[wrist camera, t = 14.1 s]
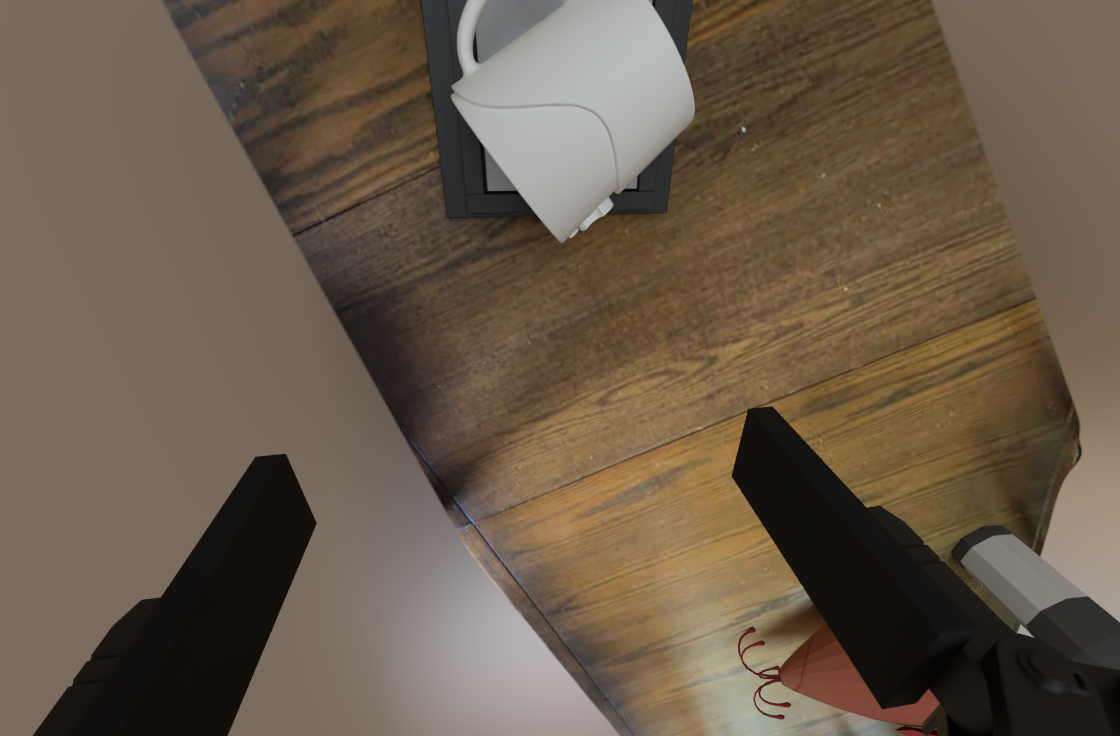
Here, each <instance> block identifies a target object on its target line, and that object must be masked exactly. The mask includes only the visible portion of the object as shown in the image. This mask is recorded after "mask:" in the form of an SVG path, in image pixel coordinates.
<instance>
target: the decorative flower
mask: <svg viewBox="0 0 1120 736" xmlns="http://www.w3.org/2000/svg"><path fill="white" fill-rule="evenodd" d="M754 632H755V628H750V629H749V630H748V631H747V632H745V633H744V634H743V635H742V637H741V638H740V640H739V643H738V652H739V655H740V658H741V660H742V663H743V665H744V666H745V667H746V669H748V670H749V671H751V672H753V673H754V674H756V675H758V676H759V677H760V678H763V679H775V680H772V681H769V682H766V683H765V684H764V685H762V686H760V687H759V688H758V690H757V691H756V692H755V695H754V703H755V706H756V708H757V709H758V711H760V712H761V713H762V714H764V715H766V716H769V717H772V718H777V719H781V720H782V719H784V718H785V717H784V715H776V716H775V715H769V714H766V713H764V712H762V711H761V710H760V709H759V708H758V707H757V705H756V702H755V696H756V693H757V692H758V691H759V697H760V698H761V699H762V700H763V701H764V702H766V703H767V704H771V705H775V706H782V707H790V706H791V704H790V703H788V702H786V703H781V704H777V703H771V702H768V701H766V700H764V699H763V698H762V697H761V695H760V691H761V689H762V688H763V687H764V686H766V685H769V684H771V683H774V682H780V681H781V682H782V685H784V686H786V687H788V688H790V689H792V690H794V691H796V692H798V693H801V694H803V695H805V696H808V697H810V698H812V699H815V700H818V701H820V702H823V703H826V704H828V705H831V706H834V707H836V708H839V709H842V710H844V711H848V712H851V713H855V714H858V715H861V716H865V717H868V718H872V719H875V720H880V721H885V722H890V723H895V724H900V725H905V726H904V727H901V728H898V729H896V731H899V732H901V733H903V734H905V735H908V736H926V735H924V734H922V733H921V729H919V728H913V727H907V726H915V727H922V725H923V722H924V721H925V720H926V719H927V718H928V717H929V716H930V714H931V713H932V712H933V711H934V710H935V709H936V708H937V707H938V706H939V704H940V703H939V702H938V700H937V699H936V698H935V696H934V695H933V694H932V692H931V691H930V690H929V689H928V690H927V692H926V693H925V694H924V695H923V696H922V697H921V699H920V700H919V701H918V702H917V703H916V704H911V705H905V706H900V707H894V708H888V709H883V710H882V709H881V707H880V705H879V704H878V702H877V701H876V699H875V698H874V696H873V695H872V693H871V691H870V690H869V688H868V687H867V685H866V684H865V682H864V681H863V679H862V678H861V676H860V674H859V673H858V671H857V670H856V668H855V667H854V665H853V664H852V662H851V660H850V659H849V657H848V656H847V654H846V653H845V651H844V650H843V648H842V647H841V645H840V643H839V642H838V640H837V639H836V637H835V636H834V634H833V633H832V631H831V629H830V628H829V626H828V625H827V624H826V625H825V626H823V627H822V628H821V629H820V630H818V631H817V632H816V633H814V634H813V635H812V636H811V637H810V638H809V639H808V640H807V641H805V642H804V643H803V644H802V645H801V646H800V647H799V648H798V649H797V650H796V651H795V652H794V653H793V654H792V655H791V656H790V657H789V658H788V659H787V660H786V661H785V662H784V664H783V665H782V666H781V668H780V667H779V666H775V667H772V668H769V669H766V670H763V671H761V672H760V673H755V672H754V671H752V670H751V669H750V668H748V667H747V665H746V664H745V663H744V661H743V658H742V657H743V653H744V652H745V651H746V650H747V649H748V648H750V647H752V646H756V645H764V644H765V642H764V641H759V642H756V643H754V644H751V645H749V646H748V647H746V648H745V649H744V650H743V652H742V655H741V654H740V643H741V640H742V638H743V637H744V636H745V635H747V634H748V633H754ZM769 670H779V671H778V674H779V675H767V674H761V673H763V672H765V671H769ZM761 676H765V677H761ZM759 689H760V690H759ZM935 729H937V727H936V728H935ZM894 730H895V729H894ZM928 736H938V734H937V730H933V731H932V732H931V733H930V734H929V735H928Z"/></svg>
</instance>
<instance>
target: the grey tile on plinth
mask: <svg viewBox="0 0 1120 736" xmlns="http://www.w3.org/2000/svg"><path fill="white" fill-rule="evenodd" d="M652 1H653V0H649V2H650V3H651V5H652ZM562 5H563V0H491V1H490V3H489V4H488V6H487V7H486V9H485V11H484V12H483V14H482V16H481V18H480V20H479V23H478V25H477V28H476V41H477V54H478V63H479V64H482V63H484V62H485V61H486V60H488V59H489V58H490V57H492V56H493V55H495V54H496V53H497V52H499V51H500V50H502V49H503V48H504V47H506V46H507V45H508V44H510V43H511V42H513V41H514V40H515V39H517V38H518V37H519V36H521V35H522V34H524V33H525V32H526V31H528V30H529V29H531V28H532V27H533V26H535V25H536V24H537V23H539V22H540V21H542V20H543V19H544V18H546V17H547V16H549V15H550V14H551V13H553V12H554V11H555V10H557V9H558V8H560V7H561V6H562ZM485 161H486V174H487V187H488V191H517V190H516V188H515V187H514V186H513V184H512V183H511V182H510V180H509V179H508V178H507V177H506V175H505V174H504V173H503V171H502V170H501V169H500V167H499V166H498V165H497V163H496V162H495V161H494V159H493V158H492V157H491V155H490V154H489V153H488V151H487V150H486V149H485ZM637 177H638V176H637ZM637 177H636V178H635V179H634V180H633V181H632V182H631V183H630V184H629V185H628V186H627V187H626V188H625V189H634V188H637Z"/></svg>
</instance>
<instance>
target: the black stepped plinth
mask: <svg viewBox="0 0 1120 736" xmlns="http://www.w3.org/2000/svg"><path fill="white" fill-rule="evenodd" d="M466 2H467V0H421V7H422V15H423V23H424V32H425V40H426V48H427V56H428V64H429V72H430V81H431V89H432V97H433V105H434V113H435V121H436V130H437V138H438V146H439V154H440V162H441V171H442V179H443V187H444V195H445V203H446V211H447V218H464V217H506V216H537V215H536V214H535V212H534V211H533V210H532V209H531V207H530V206H529V205H528V204H527V202H526V201H525V200H524V198H523V197H522V196H521V195H520V193H519V192H518V191H488V187H487V174H486V161H485V147H484V146H483V144H482V143H481V142H480V140H479V139H478V138H477V136H476V135H475V133H474V132H473V131H472V129H471V128H470V126H469V125H468V124H467V122H466V121H465V119H464V118H463V116H462V115H461V113H460V112H459V111H458V109H457V107H456V106H455V104H454V103H453V101H452V99H451V95H452V94H453V93H455V92H454V91H453V89H452V87H451V86H452V85H453V84H455V83H456V82H457V81H459V80H460V79H461V78H462V77H463V70H462V68H461V65H460V62H459V58H458V53H457V32H458V26H459V22H460V18H461V15H462V12H463V9H464V7H465V5H466ZM652 6H653V7H654V9H655V10H656V12H657V13H658V15H659V17H660V18H661V20H662V21H663V23H664V25H665V27H666V28H667V30H668V32H669V34H670V36H671V38H672V40H673V42H674V44H675V46H676V48H677V50H678V52H679V54H680V57H681V59H682V61H683V64H684V65H685V57H686V49H687V41H688V32H689V24H690V16H691V7H692V0H653V1H652ZM473 57H474V60H475V61H476V62H477V63H478V54H477V41H476V31H475V35H474V40H473ZM675 140H676V138H675V139H674V140H673V141H672V142H671V143H670V144H669V145H668V146H667V147H666V148H665V149H664V150H663V151H662V152H661V153H660V154H659V155H658V156H657V157H656V158H655V159H654V160H653V161H652V162H651V163H650V164H649V165H648V166H647V167H646V168H645V169H644V170H643V171H642V172H641V173H640V174H639V175H638V177H637V188H634V189H624V190H623V191H622V192H621V193H620V194H616V193H615V192H613V193H612V194H611V195H610V196H609V198H610V200H611V201H612V203H613V204H614V205H613V207H612V208H611V209H610V210H609V212H608V213H607V214H632V213H666V212H667V206H668V197H669V189H670V181H671V173H672V164H673V156H674V148H675Z"/></svg>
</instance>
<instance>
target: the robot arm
mask: <svg viewBox="0 0 1120 736" xmlns="http://www.w3.org/2000/svg"><path fill="white" fill-rule="evenodd" d="M732 478H733V479H734V481H735V482H736V484H737V485H738V487H739V488H740V490H741V492H742V493H743V495H744V496H745V498H746V499H747V501H748V502H749V504H750V505H751V507H752V509H753V510H754V512H755V513H756V515H757V516H758V518H759V519H760V521H761V523H762V524H763V526H764V527H765V529H766V530H767V532H768V533H769V535H770V536H771V538H772V540H773V541H774V543H775V544H776V546H777V547H778V549H779V550H780V552H781V554H782V555H783V557H784V558H785V560H786V561H787V563H788V564H789V566H790V567H791V569H792V571H793V572H794V574H795V575H796V577H797V578H798V580H799V581H800V583H801V585H802V586H803V588H804V589H805V591H806V592H807V594H808V595H809V597H810V598H811V600H812V602H813V603H814V605H815V606H816V608H817V609H818V611H819V612H820V614H821V616H822V617H823V619H824V620H825V622H826V623H827V625H828V626H829V628H830V629H831V631H832V633H833V634H834V636H835V637H836V639H837V640H838V642H839V643H840V645H841V647H842V648H843V650H844V651H845V653H846V654H847V656H848V657H849V659H850V660H851V662H852V664H853V665H854V667H855V668H856V670H857V671H858V673H859V674H860V676H861V678H862V679H863V681H864V682H865V684H866V685H867V687H868V688H869V690H870V691H871V693H872V695H873V696H874V698H875V699H876V701H877V702H878V704H879V705H880V707H881V709H882V710H883V709H888V708H894V707H900V706H905V705H911V704H916V703H917V702H918V701H919V700H920V699H921V697H922V696H923V695H924V694H925V693H926V692H927V690H928V689H929V690H930V691H931V692H932V694H933V695H934V696H935V698H936V699H937V700H938V702H939V703H940V704H939V706H938V707H937V708H936V709H935V710H934V711H933V712H932V713H931V714H930V716H929V717H928V718H927V719H926V720H925V721H924V722H923V725H922V729H921V733H922V734H924V735H926V736H928V735H929V734H930V733H931V732H932V731H933V730H934V729H935V728H936V727H937V734H938V736H1120V670H1117V669H1112V668H1106V667H1101V666H1096V665H1090V664H1085V663H1080V662H1074V661H1072V660H1071V659H1069V658H1068V657H1067V656H1065V655H1064V654H1063V653H1061V652H1060V651H1059V650H1057V649H1056V648H1054V647H1052V646H1050V645H1048V644H1046V643H1045V642H1043V641H1041V640H1039V639H1037V638H1033V637H1030V636H1026V635H1023V634H1016V633H1015V632H1014V631H1013V630H1012V629H1011V628H1009V627H1008V626H1007V625H1006V624H1005V623H1004V622H1003V621H1002V620H1001V619H1000V618H999V617H998V616H997V615H996V614H995V613H994V612H993V611H992V610H991V609H990V608H989V607H988V606H987V605H986V604H985V603H984V602H983V601H982V600H981V599H980V598H979V597H978V596H977V595H976V594H975V593H974V592H973V591H972V590H971V589H970V588H969V587H968V586H967V585H966V584H965V583H964V582H963V581H962V580H961V579H960V578H959V577H958V576H957V575H956V574H955V573H954V572H953V571H952V570H951V569H950V568H949V567H948V566H947V564H946V563H945V562H941V561H940V559H939V556H938V555H937V554H936V553H935V552H934V551H933V550H932V549H931V548H930V547H929V546H928V545H924V543H923V540H922V539H921V538H920V537H919V536H918V535H917V534H916V533H915V532H914V531H913V530H912V529H911V528H910V527H909V526H908V525H907V524H906V523H905V522H904V521H902V520H901V519H899V518H898V517H896V516H895V515H893V514H892V513H890V512H888V511H887V510H885V509H884V508H882V507H881V506H876V507H868V508H866V507H865V506H864V504H863V503H862V502H861V501H860V500H859V499H858V498H857V497H856V496H855V495H854V494H853V493H852V492H851V490H850V489H849V488H848V487H847V486H846V485H845V484H844V483H843V482H842V481H841V480H840V479H839V478H838V477H837V475H836V474H835V473H834V472H833V471H832V470H831V469H830V468H829V467H828V466H827V465H826V464H825V463H824V461H823V460H822V459H821V458H820V457H819V456H818V455H817V454H816V453H815V452H814V451H813V450H812V449H811V447H810V446H809V445H808V444H807V443H806V442H805V441H804V440H803V439H802V438H801V437H800V436H799V435H798V433H797V432H796V431H795V430H794V429H793V428H792V427H791V426H790V425H789V424H788V423H787V422H786V421H785V420H784V418H783V417H782V416H781V415H780V414H779V413H778V412H777V411H776V410H775V409H774V408H773V407H762V408H751V409H748V412H747V416H746V420H745V424H744V428H743V432H742V436H741V440H740V444H739V448H738V452H737V457H736V461H735V465H734V469H733V473H732ZM316 524H317V523H316V521H315V519H314V516H313V514H312V512H311V510H310V507H309V505H308V503H307V500H306V498H305V496H304V494H303V491H302V489H301V487H300V485H299V482H298V480H297V478H296V476H295V473H294V471H293V469H292V467H291V465H290V462H289V460H288V458H287V455H286V454H280V455H269V456H259V457H255V458H254V460H253V461H252V463H251V464H250V466H249V467H248V469H247V470H246V472H245V473H244V475H243V476H242V478H241V479H240V481H239V482H238V484H237V485H236V487H235V488H234V490H233V491H232V493H231V494H230V496H229V497H228V499H227V500H226V501H225V503H224V504H223V506H222V507H221V509H220V510H219V512H218V514H217V515H216V516H215V518H214V519H213V521H212V522H211V524H210V525H209V527H208V528H207V530H206V531H205V533H204V534H203V536H202V537H201V539H200V540H199V542H198V543H197V545H196V546H195V548H194V549H193V551H192V552H191V554H190V555H189V557H188V558H187V559H186V561H185V562H184V564H183V565H182V567H181V568H180V570H179V571H178V573H177V574H176V576H175V577H174V579H173V580H172V582H171V583H170V585H169V586H168V588H167V589H166V591H165V592H164V594H163V595H162V597H161V598H153V599H145V600H141V601H140V602H139V603H138V604H136V605H135V606H134V607H133V608H132V609H131V610H130V611H129V612H128V613H126V614H125V615H124V616H123V617H122V618H121V619H120V620H119V621H118V622H117V623H116V624H114V625H113V626H112V628H111V629H110V630H109V632H108V633H107V635H106V636H105V637H104V639H103V640H102V641H101V643H100V644H99V645H98V647H97V648H96V650H95V651H94V652H93V654H92V655H91V656H92V657H91V660H90V661H87V662H86V663H85V665H84V666H83V667H82V669H81V670H80V672H79V673H78V674H77V676H76V677H75V679H74V680H73V685H72V686H71V687H68V688H67V689H66V691H65V692H64V693H63V695H62V696H61V698H60V699H59V700H58V702H57V703H56V705H55V706H54V707H53V709H52V710H51V711H50V713H49V714H48V715H47V717H46V718H45V720H44V721H43V722H42V724H41V725H40V726H39V728H38V729H37V730H36V732H35V733H34V735H33V736H228V733H229V731H230V729H231V726H232V724H233V722H234V719H235V717H236V714H237V712H238V710H239V707H240V705H241V702H242V700H243V698H244V695H245V693H246V691H247V688H248V686H249V683H250V681H251V678H252V676H253V674H254V671H255V669H256V666H257V664H258V662H259V660H260V657H261V655H262V652H263V650H264V648H265V645H266V643H267V641H268V638H269V635H270V633H271V631H272V629H273V626H274V624H275V621H276V619H277V616H278V614H279V612H280V609H281V607H282V605H283V602H284V600H285V598H286V595H287V593H288V590H289V588H290V586H291V583H292V581H293V579H294V576H295V574H296V571H297V569H298V567H299V564H300V562H301V559H302V557H303V555H304V552H305V549H306V548H307V545H308V543H309V540H310V538H311V535H312V533H313V531H314V529H315V526H316Z"/></svg>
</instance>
